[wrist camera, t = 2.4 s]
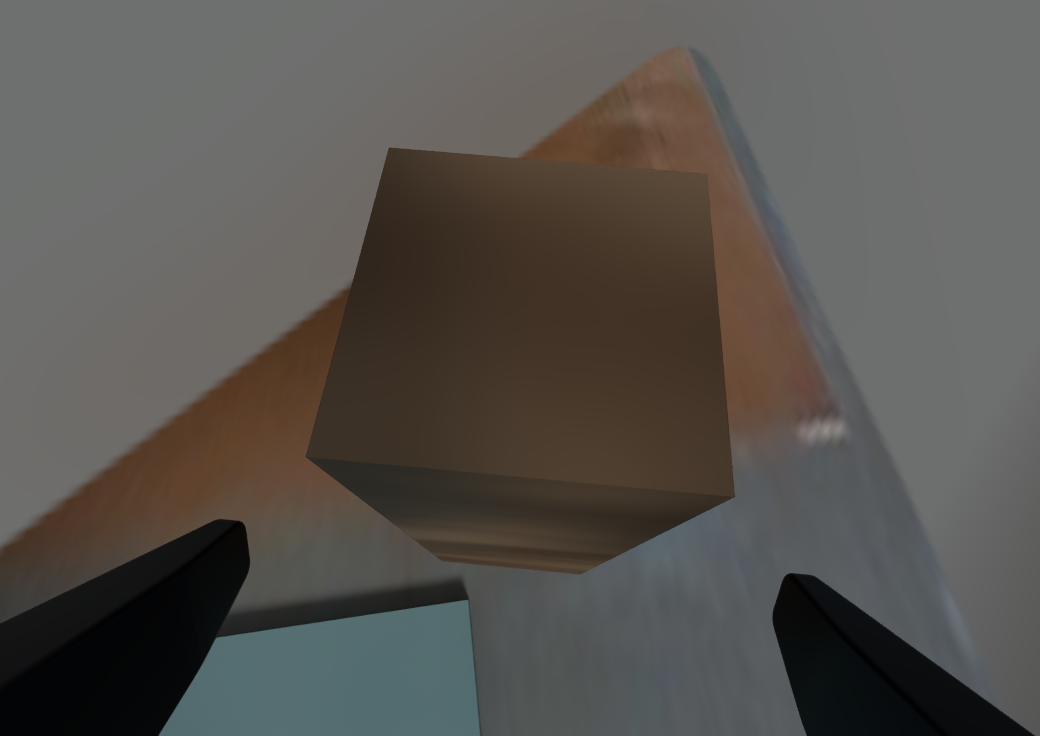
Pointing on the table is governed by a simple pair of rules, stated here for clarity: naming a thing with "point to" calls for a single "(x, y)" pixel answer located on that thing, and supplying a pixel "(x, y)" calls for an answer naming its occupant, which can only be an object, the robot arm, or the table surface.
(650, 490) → the wooden block
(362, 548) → the table surface
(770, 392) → the table surface
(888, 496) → the table surface
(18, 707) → the robot arm
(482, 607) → the table surface
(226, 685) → the teal tile
